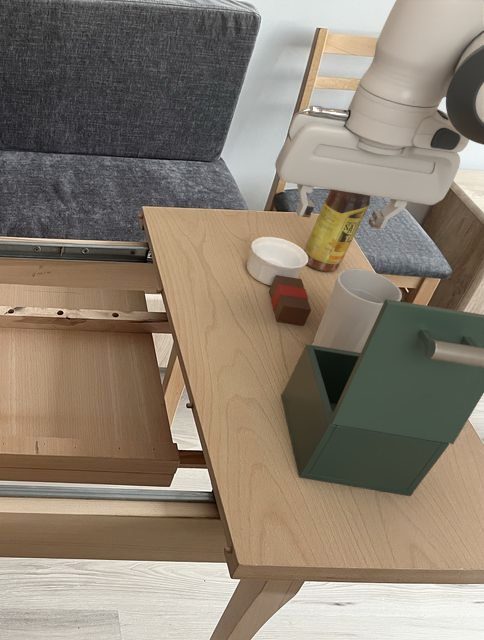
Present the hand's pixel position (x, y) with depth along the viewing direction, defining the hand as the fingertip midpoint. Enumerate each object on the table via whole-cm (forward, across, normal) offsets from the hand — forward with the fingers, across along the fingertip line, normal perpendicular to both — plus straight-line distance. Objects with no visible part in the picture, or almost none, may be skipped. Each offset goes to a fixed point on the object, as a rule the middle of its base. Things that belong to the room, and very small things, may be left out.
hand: (338, 220), depth 89 cm
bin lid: (+1, +2, -28) cm, 28 cm away
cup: (+18, +5, -6) cm, 19 cm away
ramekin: (+18, -1, +14) cm, 22 cm away
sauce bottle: (+18, +8, +19) cm, 28 cm away
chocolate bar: (+18, 0, +4) cm, 18 cm away
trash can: (+18, +2, -22) cm, 29 cm away
